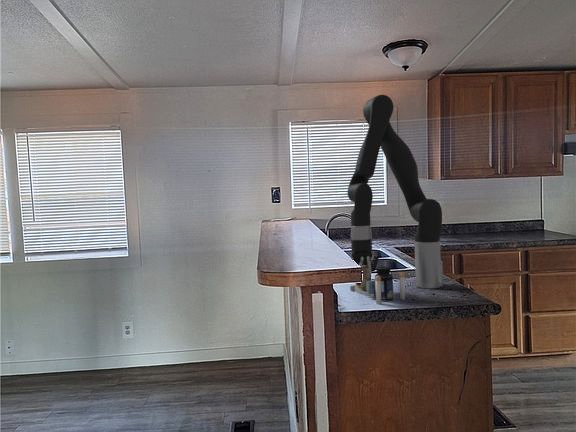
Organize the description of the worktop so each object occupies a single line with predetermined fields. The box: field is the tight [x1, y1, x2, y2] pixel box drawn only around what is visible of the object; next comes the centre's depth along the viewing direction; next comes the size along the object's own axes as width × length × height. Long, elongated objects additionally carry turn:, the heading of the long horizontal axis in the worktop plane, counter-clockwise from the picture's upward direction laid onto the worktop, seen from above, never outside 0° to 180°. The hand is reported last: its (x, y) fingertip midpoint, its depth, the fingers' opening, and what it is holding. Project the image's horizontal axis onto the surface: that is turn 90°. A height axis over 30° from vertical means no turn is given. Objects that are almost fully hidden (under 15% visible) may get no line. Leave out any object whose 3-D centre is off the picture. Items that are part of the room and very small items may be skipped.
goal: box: [374, 271, 406, 305], centre depth 151 cm, size 12×2×9 cm, turn 115°
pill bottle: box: [374, 266, 395, 302], centre depth 154 cm, size 6×6×11 cm
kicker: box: [355, 266, 375, 294], centre depth 162 cm, size 8×11×8 cm
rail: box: [349, 284, 376, 299], centre depth 164 cm, size 4×14×2 cm, turn 25°
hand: (363, 284), depth 166 cm, fingers closed on kicker, 3 cm apart
